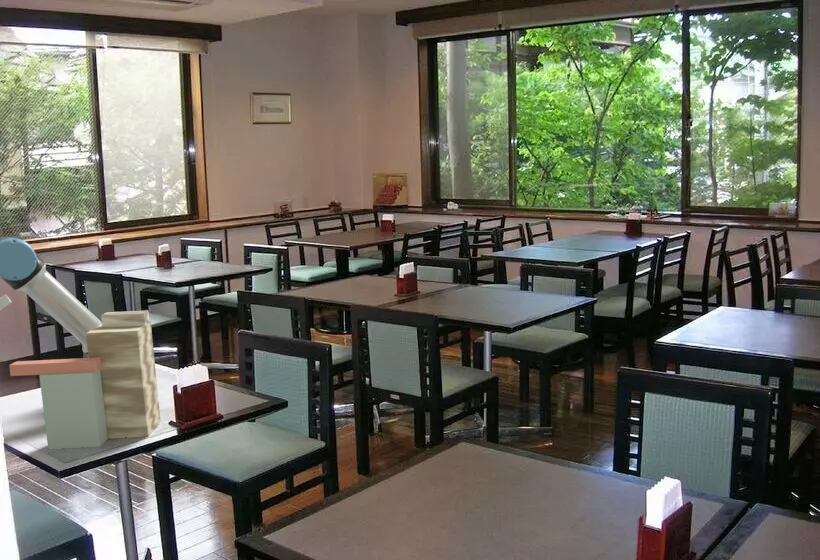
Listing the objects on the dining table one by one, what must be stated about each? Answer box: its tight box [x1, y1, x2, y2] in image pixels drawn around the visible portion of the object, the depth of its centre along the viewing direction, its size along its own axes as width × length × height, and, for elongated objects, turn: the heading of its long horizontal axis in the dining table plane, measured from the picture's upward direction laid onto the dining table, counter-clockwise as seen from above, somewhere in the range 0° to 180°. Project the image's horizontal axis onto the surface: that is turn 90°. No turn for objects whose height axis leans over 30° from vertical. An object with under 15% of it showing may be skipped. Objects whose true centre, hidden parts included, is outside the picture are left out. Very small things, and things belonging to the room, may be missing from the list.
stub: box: [9, 357, 102, 377], centre depth 227 cm, size 4×23×3 cm, turn 90°
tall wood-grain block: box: [86, 309, 162, 439], centre depth 237 cm, size 12×14×34 cm
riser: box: [38, 370, 109, 450], centre depth 229 cm, size 6×14×20 cm, turn 90°
